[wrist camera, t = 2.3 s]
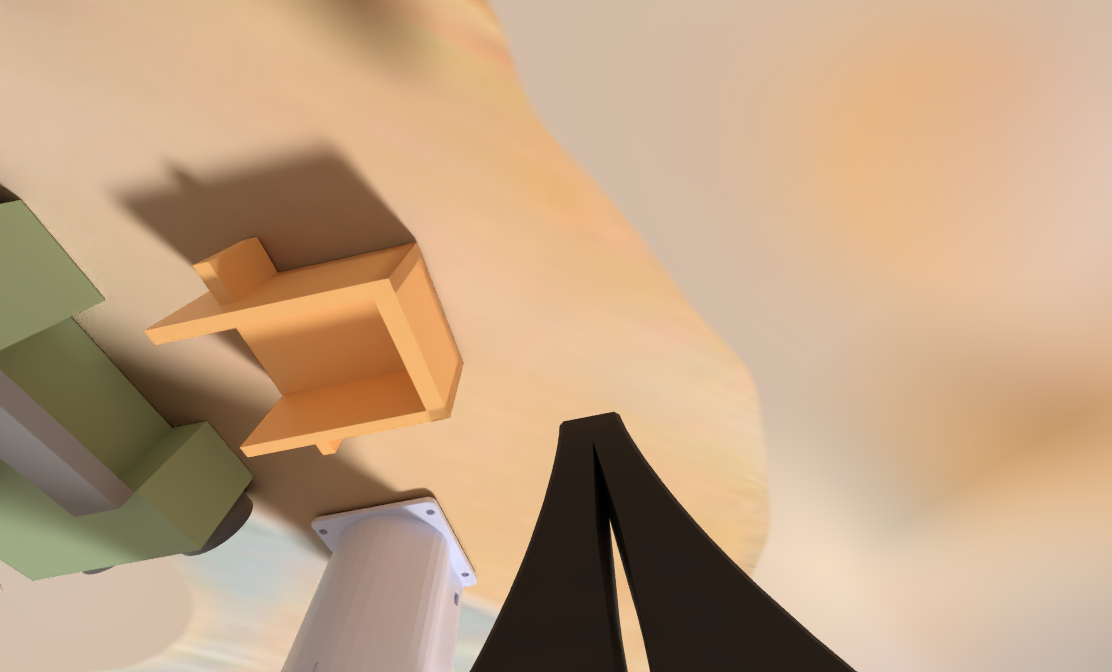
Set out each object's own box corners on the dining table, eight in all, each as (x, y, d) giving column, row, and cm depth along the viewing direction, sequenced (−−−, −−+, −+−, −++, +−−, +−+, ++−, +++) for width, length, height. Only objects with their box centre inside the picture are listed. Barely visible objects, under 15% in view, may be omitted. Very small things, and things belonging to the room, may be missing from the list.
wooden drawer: (473, 388, 22) (461, 445, 18) (310, 420, 22) (268, 482, 18) (402, 204, 17) (368, 232, 13) (196, 250, 17) (109, 289, 14)
